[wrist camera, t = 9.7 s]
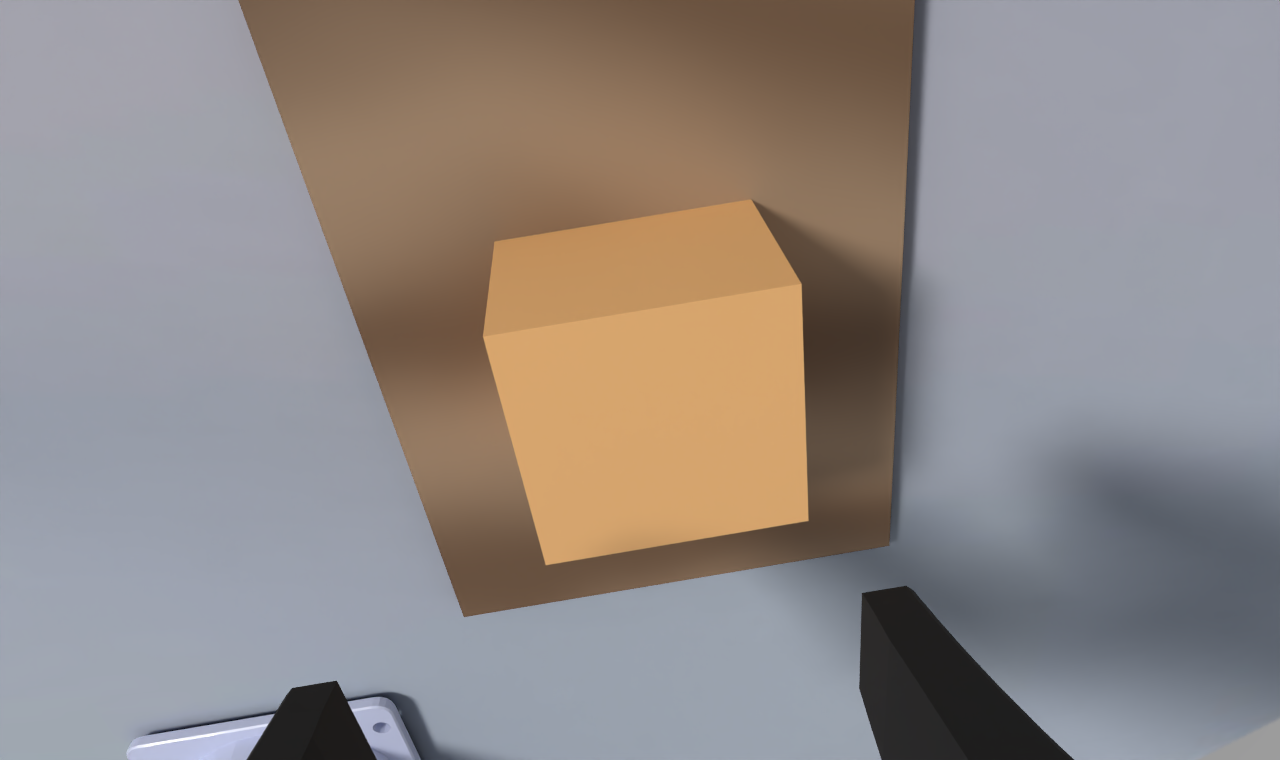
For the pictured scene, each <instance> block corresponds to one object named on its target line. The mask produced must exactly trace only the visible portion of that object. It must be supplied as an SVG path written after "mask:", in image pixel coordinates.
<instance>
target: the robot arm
mask: <svg viewBox="0 0 1280 760" xmlns="http://www.w3.org/2000/svg"><path fill="white" fill-rule="evenodd" d="M859 689H860V692H861V695H862V698H863V702H864V705H865V708H866V712H867V715H868V718H869V721H870V725H871V728H872V731H873V734H874V737H875V740H876V744H877V747H878V750H879V753H880V756H881V759H882V760H1074V759H1073V758H1072V757H1071V756H1069V755H1068V754H1067V753H1066V752H1065V751H1064V750H1063V749H1062V748H1061V747H1060V746H1059V745H1058V744H1057V743H1056V742H1055V741H1054V740H1053V739H1051V738H1050V737H1049V736H1048V735H1047V734H1046V733H1045V732H1044V731H1043V730H1042V729H1041V728H1040V727H1039V726H1038V725H1037V724H1036V723H1035V722H1034V721H1033V720H1032V719H1031V718H1030V717H1029V716H1028V715H1027V714H1026V713H1025V712H1024V711H1023V710H1022V709H1021V708H1020V707H1019V706H1018V705H1017V704H1016V703H1015V702H1014V701H1013V700H1012V699H1011V698H1010V697H1009V696H1008V695H1007V694H1006V693H1005V692H1004V691H1003V690H1002V689H1001V688H1000V687H999V686H998V685H997V684H996V683H995V681H994V680H993V679H992V678H991V677H990V676H989V675H988V674H987V673H986V672H985V671H984V670H983V669H982V668H981V667H980V666H979V665H978V663H977V662H976V661H975V660H974V659H973V658H972V657H971V656H970V655H969V654H968V653H967V652H966V650H965V649H964V648H963V647H962V646H961V645H960V644H959V643H958V642H957V641H956V639H955V638H954V637H953V636H952V635H951V634H950V633H949V632H948V630H947V629H946V628H945V627H944V626H943V625H942V624H941V622H940V621H939V620H938V619H937V618H936V617H935V616H934V614H933V613H932V612H931V611H930V610H929V609H928V607H927V606H926V605H925V604H924V603H923V601H922V600H921V599H920V598H919V597H918V595H917V594H916V593H915V592H914V591H913V590H912V589H910V588H909V587H907V586H902V587H896V588H890V589H884V590H878V591H872V592H866V593H862V616H861V650H860V685H859ZM126 755H127V757H128V759H129V760H421V759H420V757H419V755H418V752H417V750H416V748H415V746H414V744H413V742H412V740H411V738H410V736H409V733H408V731H407V729H406V727H405V725H404V723H403V721H402V719H401V717H400V714H399V712H398V710H397V708H396V706H395V704H394V703H393V702H392V701H391V700H389V699H387V698H384V697H371V698H365V699H359V700H354V701H348V702H347V700H346V698H345V696H344V694H343V692H342V690H341V688H340V686H339V684H338V682H337V681H332V682H326V683H320V684H314V685H308V686H302V687H296V688H292V689H291V690H290V691H289V693H288V694H287V695H286V697H285V698H284V700H283V702H282V703H281V705H280V706H279V708H278V710H277V711H276V713H275V714H271V715H265V716H259V717H253V718H247V719H241V720H235V721H229V722H223V723H217V724H211V725H205V726H199V727H193V728H188V729H182V730H176V731H170V732H164V733H158V734H152V735H146V736H141V737H138V738H135V739H134V740H133V741H132V742H131V744H130V746H129V748H128V750H127V754H126Z"/></svg>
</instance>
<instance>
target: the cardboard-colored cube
mask: <svg viewBox="0 0 1280 760" xmlns="http://www.w3.org/2000/svg"><path fill="white" fill-rule="evenodd" d="M483 339H484V342H485V346H486V350H487V353H488V357H489V361H490V364H491V368H492V372H493V375H494V379H495V382H496V386H497V390H498V393H499V397H500V401H501V404H502V408H503V412H504V415H505V419H506V422H507V426H508V430H509V433H510V437H511V441H512V444H513V448H514V452H515V455H516V459H517V462H518V466H519V470H520V473H521V477H522V481H523V484H524V488H525V491H526V495H527V499H528V502H529V506H530V510H531V513H532V517H533V521H534V524H535V528H536V531H537V535H538V539H539V542H540V546H541V550H542V553H543V557H544V561H545V564H546V565H550V564H556V563H562V562H568V561H574V560H580V559H586V558H592V557H598V556H603V555H609V554H615V553H621V552H627V551H633V550H639V549H645V548H651V547H657V546H663V545H669V544H675V543H680V542H686V541H692V540H698V539H704V538H710V537H716V536H722V535H728V534H734V533H740V532H746V531H751V530H757V529H763V528H769V527H775V526H781V525H787V524H793V523H799V522H805V521H809V520H808V486H807V452H806V418H805V384H804V351H803V317H802V284H801V282H800V280H799V279H798V277H797V275H796V274H795V272H794V270H793V269H792V267H791V265H790V264H789V262H788V260H787V259H786V257H785V255H784V254H783V252H782V250H781V248H780V247H779V245H778V243H777V242H776V240H775V238H774V237H773V235H772V233H771V232H770V230H769V228H768V227H767V225H766V223H765V222H764V220H763V218H762V217H761V215H760V213H759V212H758V210H757V208H756V206H755V205H754V203H753V201H752V200H751V199H750V200H744V201H738V202H732V203H726V204H720V205H714V206H708V207H702V208H695V209H689V210H683V211H677V212H671V213H665V214H659V215H653V216H647V217H641V218H635V219H629V220H623V221H617V222H610V223H604V224H598V225H592V226H586V227H580V228H574V229H568V230H562V231H556V232H550V233H544V234H538V235H532V236H526V237H519V238H513V239H507V240H501V241H495V242H494V250H493V259H492V267H491V275H490V283H489V291H488V299H487V307H486V316H485V324H484V332H483Z"/></svg>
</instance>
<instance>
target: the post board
mask: <svg viewBox="0 0 1280 760" xmlns="http://www.w3.org/2000/svg"><path fill="white" fill-rule="evenodd" d="M239 3H240V6H241V9H242V11H243V14H244V17H245V19H246V22H247V25H248V28H249V30H250V33H251V36H252V39H253V41H254V44H255V47H256V50H257V52H258V55H259V58H260V61H261V63H262V66H263V69H264V71H265V74H266V77H267V80H268V82H269V85H270V88H271V91H272V93H273V96H274V99H275V102H276V104H277V107H278V110H279V112H280V115H281V118H282V121H283V123H284V126H285V129H286V132H287V134H288V137H289V140H290V143H291V145H292V148H293V151H294V154H295V156H296V159H297V162H298V164H299V167H300V170H301V173H302V175H303V178H304V181H305V184H306V186H307V189H308V192H309V195H310V197H311V200H312V203H313V205H314V208H315V211H316V214H317V216H318V219H319V222H320V225H321V227H322V230H323V233H324V236H325V238H326V241H327V244H328V247H329V249H330V252H331V255H332V257H333V260H334V263H335V266H336V268H337V271H338V274H339V277H340V279H341V282H342V285H343V288H344V290H345V293H346V296H347V298H348V301H349V304H350V307H351V309H352V312H353V315H354V318H355V320H356V323H357V326H358V329H359V331H360V334H361V337H362V340H363V342H364V345H365V348H366V350H367V353H368V356H369V359H370V361H371V364H372V367H373V370H374V372H375V375H376V378H377V381H378V383H379V386H380V389H381V391H382V394H383V397H384V400H385V402H386V405H387V408H388V411H389V413H390V416H391V419H392V422H393V424H394V427H395V430H396V433H397V435H398V438H399V441H400V443H401V446H402V449H403V452H404V454H405V457H406V460H407V463H408V465H409V468H410V471H411V474H412V476H413V479H414V482H415V484H416V487H417V490H418V493H419V495H420V498H421V501H422V504H423V506H424V509H425V512H426V515H427V517H428V520H429V523H430V526H431V528H432V531H433V534H434V536H435V539H436V542H437V545H438V547H439V550H440V553H441V556H442V558H443V561H444V564H445V567H446V569H447V572H448V575H449V577H450V580H451V583H452V586H453V588H454V591H455V594H456V597H457V599H458V602H459V605H460V608H461V610H462V613H463V616H464V617H467V616H473V615H479V614H485V613H491V612H497V611H503V610H509V609H515V608H521V607H527V606H533V605H539V604H545V603H550V602H556V601H562V600H568V599H574V598H580V597H586V596H592V595H598V594H604V593H610V592H616V591H622V590H628V589H634V588H640V587H646V586H652V585H658V584H664V583H670V582H676V581H682V580H688V579H694V578H699V577H705V576H711V575H717V574H723V573H729V572H735V571H741V570H747V569H753V568H759V567H765V566H771V565H777V564H783V563H789V562H795V561H801V560H807V559H813V558H819V557H825V556H831V555H837V554H843V553H848V552H854V551H860V550H866V549H872V548H878V547H884V546H889V540H890V519H891V498H892V476H893V455H894V433H895V412H896V391H897V369H898V348H899V326H900V305H901V283H902V262H903V241H904V219H905V198H906V176H907V155H908V134H909V112H910V91H911V69H912V48H913V27H914V5H915V0H239ZM750 199H751V200H752V201H753V203H754V205H755V206H756V208H757V210H758V212H759V213H760V215H761V217H762V218H763V220H764V222H765V223H766V225H767V227H768V228H769V230H770V232H771V233H772V235H773V237H774V238H775V240H776V242H777V243H778V245H779V247H780V248H781V250H782V252H783V254H784V255H785V257H786V259H787V260H788V262H789V264H790V265H791V267H792V269H793V270H794V272H795V274H796V275H797V277H798V279H799V280H800V282H801V284H802V317H803V351H804V384H805V418H806V452H807V486H808V520H809V521H805V522H799V523H793V524H787V525H781V526H775V527H769V528H763V529H757V530H751V531H746V532H740V533H734V534H728V535H722V536H716V537H710V538H704V539H698V540H692V541H686V542H680V543H675V544H669V545H663V546H657V547H651V548H645V549H639V550H633V551H627V552H621V553H615V554H609V555H603V556H598V557H592V558H586V559H580V560H574V561H568V562H562V563H556V564H550V565H546V564H545V561H544V557H543V553H542V550H541V546H540V542H539V539H538V535H537V531H536V528H535V524H534V521H533V517H532V513H531V510H530V506H529V502H528V499H527V495H526V491H525V488H524V484H523V481H522V477H521V473H520V470H519V466H518V462H517V459H516V455H515V452H514V448H513V444H512V441H511V437H510V433H509V430H508V426H507V422H506V419H505V415H504V412H503V408H502V404H501V401H500V397H499V393H498V390H497V386H496V382H495V379H494V375H493V372H492V368H491V364H490V361H489V357H488V353H487V350H486V346H485V342H484V339H483V332H484V324H485V316H486V307H487V299H488V291H489V283H490V275H491V267H492V259H493V250H494V242H495V241H501V240H507V239H513V238H519V237H526V236H532V235H538V234H544V233H550V232H556V231H562V230H568V229H574V228H580V227H586V226H592V225H598V224H604V223H610V222H617V221H623V220H629V219H635V218H641V217H647V216H653V215H659V214H665V213H671V212H677V211H683V210H689V209H695V208H702V207H708V206H714V205H720V204H726V203H732V202H738V201H744V200H750Z"/></svg>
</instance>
